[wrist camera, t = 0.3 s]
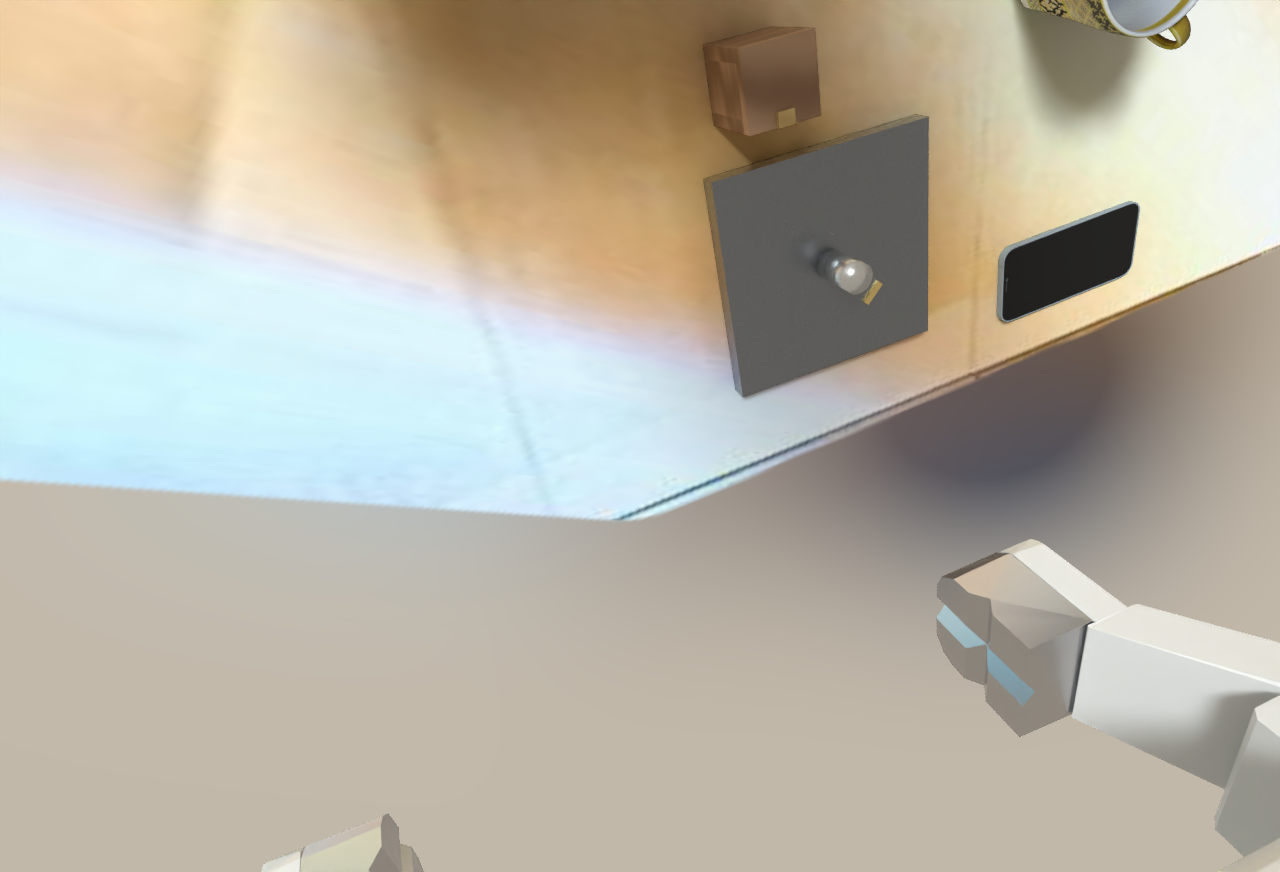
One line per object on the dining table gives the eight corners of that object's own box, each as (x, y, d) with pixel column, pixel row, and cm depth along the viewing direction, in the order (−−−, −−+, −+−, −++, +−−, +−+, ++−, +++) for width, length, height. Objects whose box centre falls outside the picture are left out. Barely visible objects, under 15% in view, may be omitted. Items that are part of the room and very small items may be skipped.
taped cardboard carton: (702, 45, 51) (741, 48, 46) (771, 26, 52) (817, 28, 47) (713, 125, 54) (751, 137, 49) (779, 106, 55) (823, 115, 50)
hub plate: (703, 178, 56) (735, 193, 51) (916, 114, 59) (964, 123, 54) (735, 389, 65) (764, 417, 61) (917, 324, 68) (957, 346, 64)
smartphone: (1131, 273, 74) (1000, 326, 71) (1122, 271, 74) (993, 322, 72) (1141, 198, 70) (1003, 250, 67) (1132, 196, 70) (996, 248, 68)
